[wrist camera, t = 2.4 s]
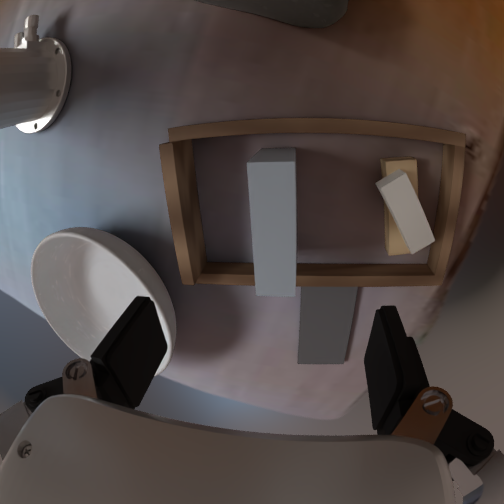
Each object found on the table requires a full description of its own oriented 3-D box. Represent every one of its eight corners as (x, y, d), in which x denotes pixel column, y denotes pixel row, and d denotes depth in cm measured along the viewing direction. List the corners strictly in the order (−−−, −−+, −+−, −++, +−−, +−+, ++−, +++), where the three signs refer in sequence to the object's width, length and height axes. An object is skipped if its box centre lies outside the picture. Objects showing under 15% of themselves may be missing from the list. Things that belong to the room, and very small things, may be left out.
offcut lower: (379, 157, 24) (385, 161, 22) (407, 155, 23) (416, 159, 21) (383, 245, 27) (389, 255, 26) (410, 242, 27) (416, 252, 25)
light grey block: (261, 148, 25) (246, 162, 18) (295, 147, 24) (294, 161, 17) (267, 249, 29) (256, 295, 22) (296, 249, 29) (295, 296, 22)
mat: (301, 276, 30) (301, 279, 29) (357, 276, 29) (358, 279, 28) (297, 360, 36) (297, 363, 35) (343, 360, 35) (343, 363, 34)
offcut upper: (375, 183, 23) (380, 188, 21) (399, 168, 22) (405, 173, 20) (406, 245, 25) (412, 254, 23) (428, 232, 24) (435, 240, 22)
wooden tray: (178, 126, 25) (157, 130, 21) (453, 131, 20) (478, 137, 16) (198, 271, 31) (184, 294, 28) (433, 273, 27) (448, 296, 23)
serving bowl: (186, 215, 29) (157, 244, 23) (197, 357, 38) (183, 395, 32) (47, 207, 31) (12, 227, 25) (81, 328, 41) (59, 355, 35)
